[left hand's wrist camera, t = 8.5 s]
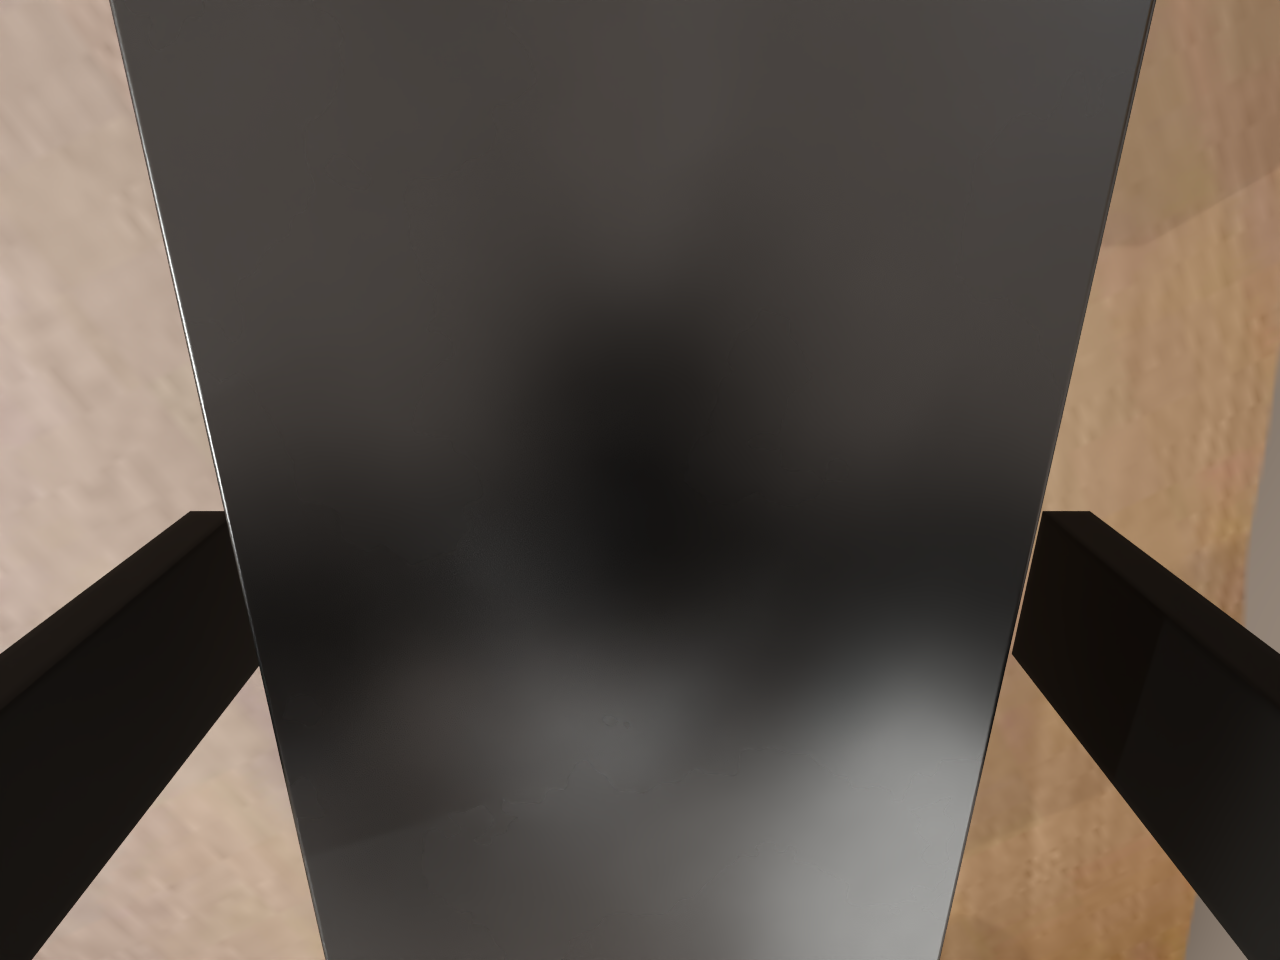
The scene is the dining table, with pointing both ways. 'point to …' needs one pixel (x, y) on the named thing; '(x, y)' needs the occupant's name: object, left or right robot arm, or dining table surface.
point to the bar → (632, 438)
